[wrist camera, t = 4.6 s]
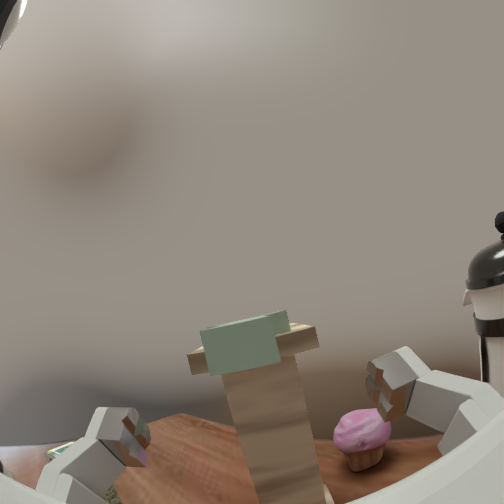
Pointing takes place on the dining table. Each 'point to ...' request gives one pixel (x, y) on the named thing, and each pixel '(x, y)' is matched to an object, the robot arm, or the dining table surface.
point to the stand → (275, 422)
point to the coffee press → (489, 307)
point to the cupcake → (362, 438)
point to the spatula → (244, 343)
